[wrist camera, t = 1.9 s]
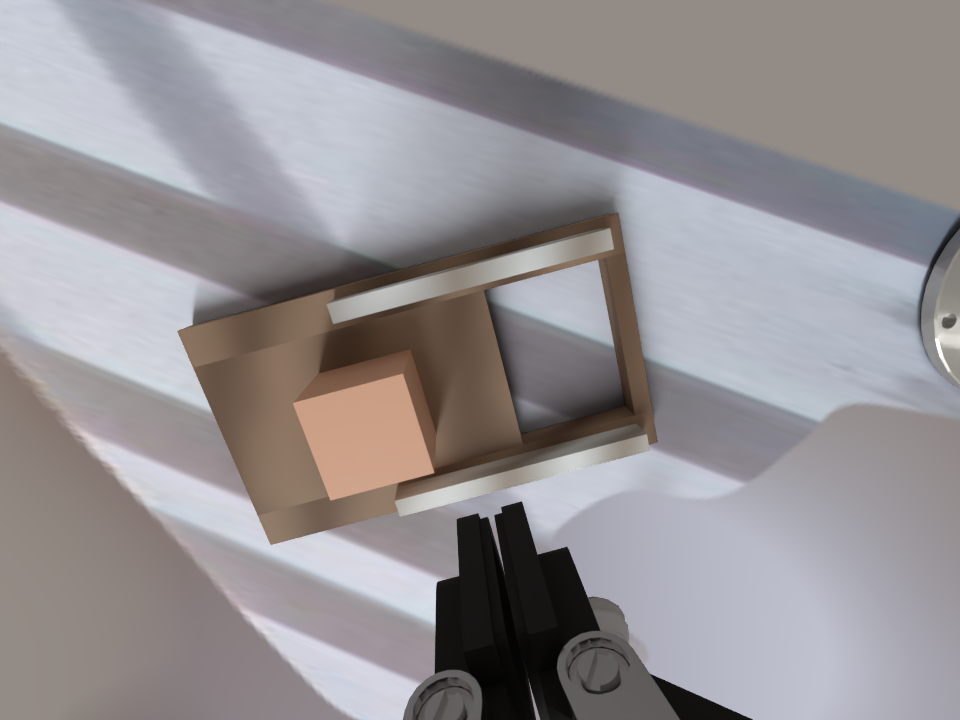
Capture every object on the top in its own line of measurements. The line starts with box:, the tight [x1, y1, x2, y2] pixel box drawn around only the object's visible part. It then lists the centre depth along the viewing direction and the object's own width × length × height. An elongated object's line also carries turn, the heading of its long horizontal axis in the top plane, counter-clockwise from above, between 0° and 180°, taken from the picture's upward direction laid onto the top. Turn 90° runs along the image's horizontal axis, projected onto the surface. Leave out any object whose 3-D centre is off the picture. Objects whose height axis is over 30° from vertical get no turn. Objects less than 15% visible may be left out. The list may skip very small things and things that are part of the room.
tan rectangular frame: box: [177, 213, 658, 545], centre depth 27 cm, size 23×13×3 cm, turn 105°
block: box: [293, 349, 436, 501], centre depth 24 cm, size 5×5×4 cm
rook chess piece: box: [588, 597, 629, 644], centre depth 29 cm, size 4×4×8 cm
